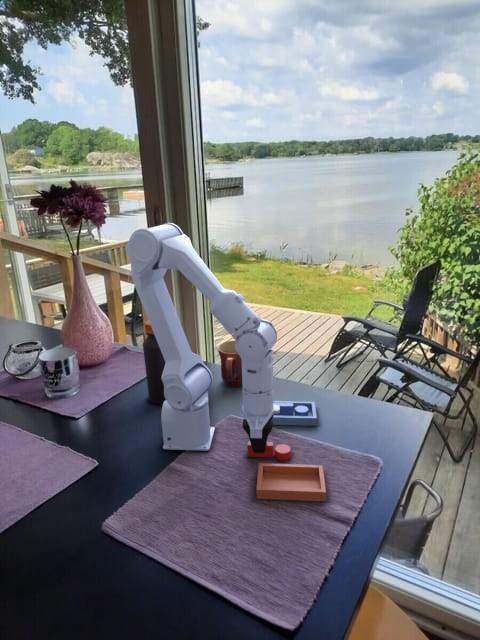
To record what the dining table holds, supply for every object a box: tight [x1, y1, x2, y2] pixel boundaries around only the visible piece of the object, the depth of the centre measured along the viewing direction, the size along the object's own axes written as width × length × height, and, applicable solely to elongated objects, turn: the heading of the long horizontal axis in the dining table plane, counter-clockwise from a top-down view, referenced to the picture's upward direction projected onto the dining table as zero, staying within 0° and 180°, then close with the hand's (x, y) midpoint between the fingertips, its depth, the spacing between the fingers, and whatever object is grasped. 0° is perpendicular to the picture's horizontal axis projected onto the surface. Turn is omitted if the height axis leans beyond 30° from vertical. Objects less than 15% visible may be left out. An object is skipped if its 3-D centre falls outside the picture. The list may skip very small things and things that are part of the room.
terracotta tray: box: [255, 462, 327, 502], centre depth 77 cm, size 12×7×2 cm, turn 85°
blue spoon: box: [273, 403, 308, 416], centre depth 98 cm, size 8×3×3 cm, turn 85°
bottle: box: [142, 319, 166, 405], centre depth 106 cm, size 7×7×20 cm
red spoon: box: [246, 440, 292, 461], centre depth 85 cm, size 8×3×3 cm, turn 84°
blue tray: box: [271, 400, 318, 427], centre depth 99 cm, size 12×7×2 cm, turn 85°
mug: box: [216, 339, 242, 389], centre depth 112 cm, size 12×9×10 cm
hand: (259, 448), depth 86 cm, fingers closed on red spoon
